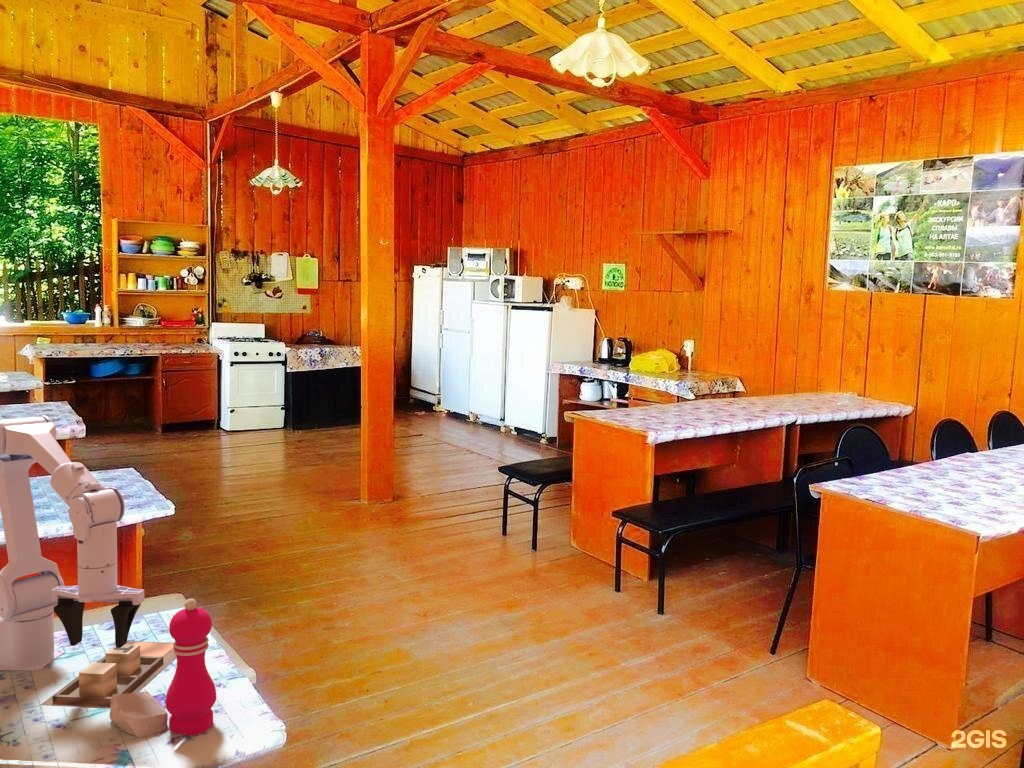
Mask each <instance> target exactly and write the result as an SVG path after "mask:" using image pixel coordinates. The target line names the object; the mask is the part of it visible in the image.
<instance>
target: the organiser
mask: <svg viewBox="0 0 1024 768" xmlns="http://www.w3.org/2000/svg"><path fill="white" fill-rule="evenodd" d="M126 644H135V645H140V667H139V668H138V669H137V670H136V671H135V672H133V673H132V674H131V675H117V687H116V688H115V689H113V690H112V691H111V692H110V693H109V694H107V695H106V696H105V697H101V696H79V675H78V676H76V677H75V678H74V679H73V680H71V681H70V682H69V683H67V684H66V685H64V686H63V687H62V688H60V689H59V690H58V691H56V692H55V693H54V694H53V695H51V696H50V697H48V698H47V699H46V700H44V701H43V702H42V703H41V704H40V706H51V707H52V706H53V707H54V706H55V707H56V706H58V707H77V708H79V707H80V708H99V709H100V708H103V709H111V707H110V704H111V697H112V695H113V694H127V693H134V692H141V691H142V690H143V689H144V688H145V687H146V686H147V685H148V684H150V683H151V682H152V681H153V680H154V679H155V678H156V677H157V676H158V675H160V674H161V673H162V672H163V671H164V670H165V669H166V668H167V667H168V666H169V665H170V664H171V663H173V661H175V660H177V656H176V654H175V653H174V652H173V648H174V646H173V642H161V641H160V642H159V641H156V642H155V641H135V640H134V641H133V640H127V643H126ZM96 663H105V655H104V656H103V657H101V658H100V659H99V660H98V661H96Z"/></svg>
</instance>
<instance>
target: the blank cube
mask: <svg viewBox="0 0 1024 768" xmlns="http://www.w3.org/2000/svg"><path fill="white" fill-rule="evenodd" d="M96 662H97V661H96ZM96 662H94V661H93V662H92V663H91V664H88V666H87V667H85V668H84V669H83V670H80V672H78V676H79V696H101V697H105V696H106V695H107V694H109V693H110V692H111V691H112V690H113V689H115V688H116V687H117V663H96Z"/></svg>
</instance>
